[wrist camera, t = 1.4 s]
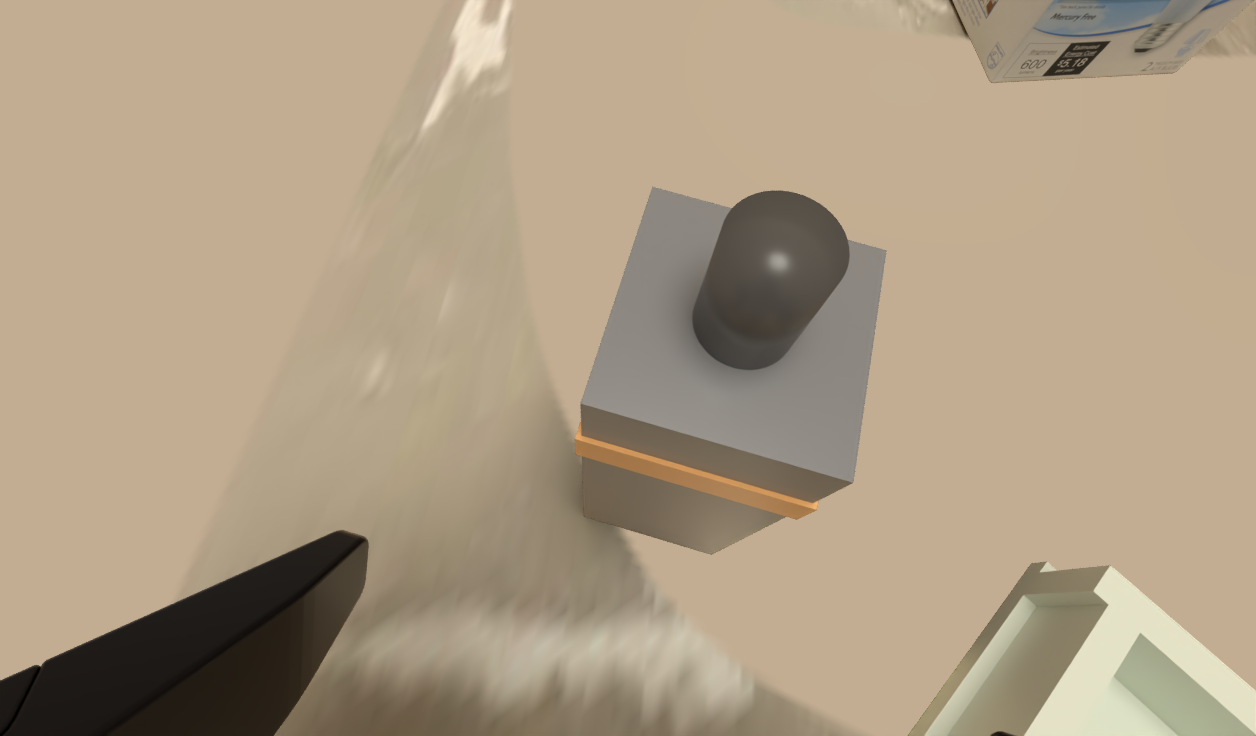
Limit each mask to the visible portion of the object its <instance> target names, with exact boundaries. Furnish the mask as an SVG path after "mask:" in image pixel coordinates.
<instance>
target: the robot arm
mask: <svg viewBox="0 0 1256 736" xmlns="http://www.w3.org/2000/svg"><path fill="white" fill-rule="evenodd" d="M368 548H369V545H368V540H367V539H366V538H365V537H364V536H361V535H358V534H354V533H351V532H348V531H344V530H339V531H335V532H333V533H330V534H328V535H326V536H324V537H321V538H319V539H317V540H315V541H313V542H310V543H308V544H306V545H304V546H301V547H299V548H297V549H295V550H292V551H290V552H288V553H286V554H283V555H281V556H279V557H277V558H274V559H272V560H270V561H268V562H265V563H263V564H261V565H259V566H256V567H254V568H252V569H250V570H248V571H245V572H243V573H241V574H239V575H236V576H234V577H232V578H230V579H227V580H225V581H223V582H221V583H218V584H216V585H214V586H212V587H209V588H207V589H205V590H203V591H200V592H198V593H196V594H194V595H191V596H189V597H187V598H185V599H183V600H180V601H178V602H176V603H174V604H171V605H169V606H167V607H165V608H163V609H160V610H158V611H156V612H153V613H151V614H149V615H147V616H144V617H143V618H140V619H138V620H135V621H133V622H131V623H129V624H126V625H124V626H122V627H120V628H118V629H115V630H113V631H111V632H109V633H106V634H104V635H102V636H100V637H97V638H95V639H93V640H91V641H88V642H86V643H84V644H82V645H79V646H77V647H75V648H73V649H71V650H68V651H66V652H64V653H62V654H59V655H57V656H55V657H53V658H50V659H48V660H46V661H45V662H44V663H43V664H42V666H41V667H40V666H39V665H34V666H32V667H30V668H28V669H25V670H23V671H21V672H18V673H16V674H14V675H12V676H9V677H7V678H5V679H3V680H0V736H274V734H275V733H276V732H277V730H278V729H279V728H280V726H281V725H282V723H283V722H284V721H285V719H286V718H287V717H288V715H289V714H290V712H291V711H292V709H293V708H294V707H295V705H296V704H297V702H298V701H299V699H300V698H301V696H302V695H303V693H304V691H305V690H306V688H307V686H308V685H309V683H310V681H311V680H312V678H313V676H314V675H315V673H316V671H317V670H318V668H319V666H320V664H321V663H322V661H323V659H324V658H325V656H326V654H327V652H328V651H329V649H330V647H331V646H332V644H333V642H334V640H335V639H336V637H337V635H338V634H339V632H340V630H341V628H342V627H343V625H344V623H345V622H346V620H347V618H348V616H349V615H350V613H351V611H352V610H353V608H354V606H355V605H356V603H357V601H358V599H359V598H360V596H361V593H362V591H363V588H364V585H365V580H366V570H367V559H368ZM990 736H1016V735H1013V734H1009V733H1006V732H1003V731H997V732H995V733H992V734H991V735H990Z"/></svg>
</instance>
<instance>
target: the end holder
mask: <svg viewBox="0 0 1256 736" xmlns="http://www.w3.org/2000/svg"><path fill="white" fill-rule="evenodd" d="M997 731H1003V732H1006V733H1009V734H1013V735H1016V736H1256V691H1255V690H1254V689H1253V688H1252V687H1251V686H1249V685H1248V684H1247V683H1246V682H1245V681H1244V680H1242V679H1241V678H1240V677H1239V676H1238V675H1237V674H1235V673H1234V672H1233V671H1232V670H1231V669H1230V668H1229V667H1227V666H1226V665H1225V664H1224V663H1222V661H1220V660H1219V659H1218V658H1217V657H1216V656H1215V655H1214V654H1212V653H1211V652H1210V651H1209V650H1208V649H1206V648H1205V647H1204V646H1203V645H1202V644H1201V643H1200V642H1198V641H1197V640H1196V639H1195V638H1194V637H1193V636H1192V635H1190V634H1189V633H1188V632H1187V631H1186V630H1185V629H1183V628H1182V627H1181V626H1180V625H1179V624H1178V623H1176V622H1175V621H1174V620H1173V619H1172V618H1171V617H1169V616H1168V615H1167V614H1166V613H1165V612H1164V611H1163V610H1161V609H1160V608H1159V607H1158V606H1157V605H1156V604H1155V603H1153V602H1152V601H1151V600H1150V599H1149V598H1148V597H1146V596H1145V595H1144V594H1143V593H1142V592H1141V591H1139V590H1138V589H1137V588H1136V587H1135V586H1134V585H1133V584H1131V583H1130V582H1129V581H1128V580H1126V579H1125V578H1124V577H1123V576H1122V575H1121V574H1120V573H1119V572H1117V571H1116V570H1115V569H1114V568H1113V567H1112V566H1111V565H1110V566H1109V565H1108V566H1099V567H1089V568H1079V569H1070V570H1059V571H1057V570H1056V569H1055V568H1054V567H1053V566H1052V565H1050V564H1049V563H1048V562H1040V563H1032V564H1031V565H1030V566H1029V567H1028V569H1027V570H1026V572H1025V573H1024V575H1023V576H1022V577H1021V579H1020V580H1019V581H1018V583H1017V584H1016V585H1015V587H1014V588H1013V590H1012V591H1011V593H1010V594H1009V595H1008V597H1007V598H1006V600H1005V601H1004V602H1003V604H1002V605H1001V606H1000V608H999V609H998V611H997V612H996V613H995V615H994V616H993V618H992V619H991V621H990V622H989V623H988V625H987V626H986V627H985V629H984V630H983V632H982V633H981V634H980V636H979V637H978V639H977V640H976V641H975V643H974V644H973V645H972V647H971V648H970V650H969V651H968V653H967V654H966V655H965V657H964V658H963V659H962V661H961V662H960V664H959V665H958V666H957V668H956V669H955V671H954V672H953V673H952V675H951V676H950V678H949V679H948V680H947V682H946V683H945V685H944V686H943V687H942V689H941V690H940V692H939V693H938V694H937V696H936V697H935V698H934V700H933V701H932V703H931V704H930V706H929V707H928V708H927V710H926V711H925V713H924V714H923V715H922V717H921V718H920V719H919V721H918V722H917V724H916V725H915V726H914V728H913V729H912V731H911V732H910V733H909V735H908V736H990V735H991V734H992V733H995V732H997Z"/></svg>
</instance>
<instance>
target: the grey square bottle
mask: <svg viewBox="0 0 1256 736" xmlns="http://www.w3.org/2000/svg"><path fill="white" fill-rule="evenodd" d="M885 257H886V250H883V249H879V248H876V247H872V246H868V245H865V244H861V243H857V242H854V241H850V240H847V237H846V234H845V232H844V230H843V228H842V226H841V225H840V223H839V222H838V220H837V219H836V218H835V217H834V216H833V215H832V214H831V213H830V212H829V211H828V210H827V209H826V208H825V207H823V206H822V205H821V204H819V203H817V202H816V201H814V200H812V199H810V198H808V197H806V196H803V195H800V194H797V193H792V192H787V191H765V192H761V193H757V194H754V195H751V196H749V197H747V198H745V199H743V200H741V201H740V202H739V203H737V204H736V205H735V206H734V207H733V208H729V207H725V206H721V205H717V204H714V203H710V202H706V201H702V200H699V199H695V198H691V197H688V196H684V195H681V194H677V193H673V192H670V191H666V190H662V189H659V188H655V187H652V190H651V193H650V196H649V199H648V202H647V205H646V208H645V211H644V214H643V217H642V220H641V223H640V226H639V229H638V232H637V235H636V238H635V241H634V244H633V247H632V250H631V253H630V256H629V259H628V262H627V265H626V268H625V271H624V275H623V277H622V280H621V283H620V286H619V289H618V292H617V295H616V298H615V301H614V305H613V307H612V310H611V313H610V316H609V319H608V323H607V326H606V328H605V331H604V335H603V337H602V341H601V343H600V347H599V350H598V353H597V356H596V359H595V362H594V365H593V368H592V371H591V374H590V377H589V380H588V383H587V386H586V389H585V392H584V395H583V398H582V401H581V422H580V425H579V428H578V431H577V434H576V437H575V449H576V455H579V456H582V473H583V510H584V517H587V518H591V519H594V520H597V521H601V522H604V523H607V524H611V525H614V526H617V527H621V528H624V529H628V530H631V531H635V532H638V533H641V534H645V535H648V536H651V537H654V538H658V539H661V540H665V541H668V542H672V543H674V544H678V545H681V546H684V547H688V548H691V549H694V550H698V551H701V552H704V553H708V554H714V553H716V552H718V551H720V550H722V549H724V548H725V547H727V546H729V545H731V544H733V543H735V542H737V541H739V540H741V539H743V538H745V537H747V536H749V535H751V534H753V533H755V532H757V531H759V530H761V529H763V528H765V527H767V526H769V525H771V524H773V523H775V522H777V521H779V520H781V519H783V518H785V517H790V518H793V519H799V518H801V517H803V516H806V515H808V514H810V513H812V512H814V511H816V510H817V507H818V501H819V500H820V499H822V498H824V497H826V496H828V495H830V494H832V493H834V492H836V491H838V490H840V489H842V488H844V487H846V486H848V485H850V484H852V483H853V481H854V474H855V467H856V460H857V453H858V446H859V439H860V432H861V425H862V418H863V411H864V404H865V397H866V389H867V383H868V376H869V369H870V362H871V355H872V348H873V341H874V334H875V327H876V320H877V313H878V306H879V305H878V304H879V298H880V292H881V284H882V277H883V271H884V263H885Z"/></svg>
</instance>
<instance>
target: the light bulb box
mask: <svg viewBox="0 0 1256 736" xmlns="http://www.w3.org/2000/svg"><path fill="white" fill-rule="evenodd" d="M952 1H953V3H954V5H955V7H956V10H957V12H958V14H959V16H960V18H961V21H962V23H963V25H964V27H965V29H966V31H967V34H968V36H969V38H970V40H971V42H972V44H973V46H974V48H975V51H976V52H977V55H978V57H979V59H980V61H981V64H982V66H983V68H984V70H985V72H986V75H987V77H988V79H989V81H990V82H991V83H999V82H1016V81H1017V82H1018V81H1037V80H1056V79H1073V78H1093V77H1112V76H1129V75H1148V74H1165V73H1166V74H1168V73H1175V72H1177V71H1178V70H1179V69H1180V68H1181V67H1182V66H1183V65H1184V64H1185V63H1186V62H1188V61H1189V60H1190V59H1191V58H1192V57H1193V56H1194V55H1195V54H1196V53H1197V52H1198V51H1200V50H1201V49H1202V48H1203V47H1204V46H1205V45H1206V44H1207V43H1208V42H1209V41H1210V40H1211V39H1213V38H1214V37H1215V36H1216V35H1217V34H1218V33H1219V32H1220V31H1221V30H1222V29H1223V28H1224V27H1226V26H1227V25H1228V24H1229V23H1230V22H1231V21H1232V20H1233V19H1234V18H1235V17H1236V16H1237V15H1239V14H1240V13H1241V12H1242V11H1243V10H1244V9H1245V8H1246V7H1247V6H1248V5H1249V4H1250V3H1252V2H1253V1H1254V0H952Z"/></svg>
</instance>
